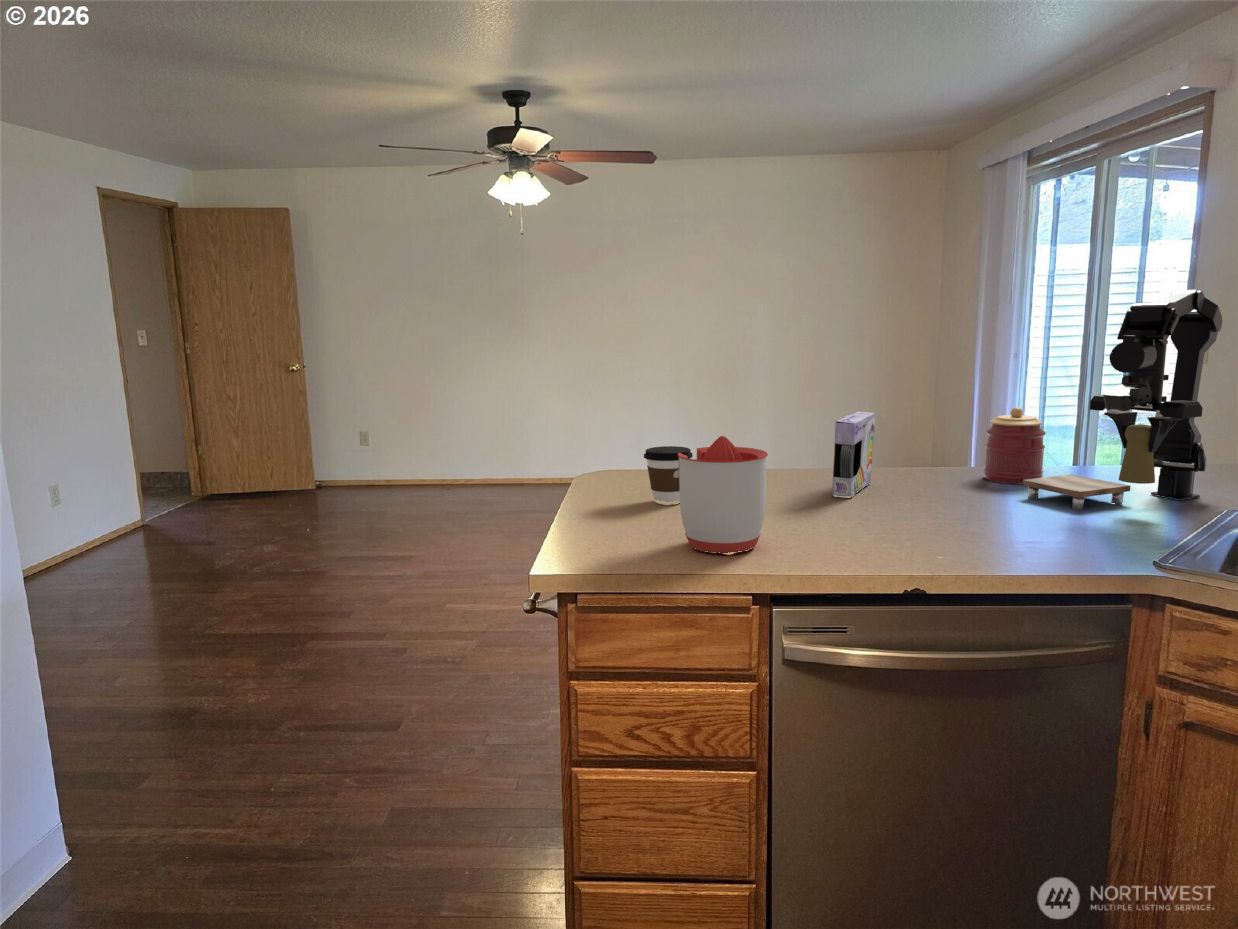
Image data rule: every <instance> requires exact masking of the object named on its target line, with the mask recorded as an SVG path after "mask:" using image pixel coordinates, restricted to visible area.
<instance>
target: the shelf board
mask: <svg viewBox="0 0 1238 929" xmlns="http://www.w3.org/2000/svg"><path fill="white" fill-rule="evenodd" d="M1022 486H1025V487H1033V488H1037V489H1039V490H1043V491H1047V492H1051V493H1055V494H1061V495H1065V496H1066V495H1067V496H1069V497H1073V496H1074V497H1078V498H1082V497H1084V498H1088V497H1096V496H1104V495H1112V494H1113V493H1121V492H1124V493H1127V492H1128V493H1129V492H1131V485H1129V484H1125V483H1119V482H1113V481H1109V480H1102V479H1098V478H1092V477H1088V476H1087V477H1086V476H1082V475H1078V474H1077V475H1076V474H1071V473H1070V474H1063V475H1054V476H1046V477H1042V478H1035V479H1027V480H1023V484H1022Z"/></svg>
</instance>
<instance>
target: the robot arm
mask: <svg viewBox="0 0 1238 929" xmlns="http://www.w3.org/2000/svg"><path fill="white" fill-rule="evenodd" d="M1222 327H1223V316H1222V313H1221V310H1220V306H1219V305H1218V304H1216V303H1215V302H1214V301H1212V300H1210V299H1208V298H1207V297H1205V295H1204V292H1203V290H1199V289H1185V290H1183V289H1182V290H1181V289H1180V290H1175V291H1172V292H1171V293H1170V294H1169V295H1166V296H1165V297H1163V298H1161V299H1158V300H1157V301H1155V302H1142V303H1141V302H1140V303H1133V304H1132V305H1130V307H1129V309H1128V310H1127V311H1126V312H1125V316H1124V319H1123V320H1122V323H1121V326H1120V329H1119V332H1118V334H1117V336H1116V338H1117V340H1122V342H1120V343H1118V344H1117V345H1115V346H1114V347H1113V349H1112V350H1111V352H1110V354H1109V356H1108V357H1109V362H1110V365H1111V367H1112V368H1113V369H1114V370H1115V371H1117V372H1118V373H1122V374H1123V373H1125V374H1124V375H1122V378H1121V382H1120V384H1119V385H1116V386H1113V387H1112V388H1110V389H1108V390H1107V391H1104V392H1103V394H1101V395H1098V394H1097V395H1093V396H1092V398H1091V399H1090V401H1089V406H1088V410H1089V411H1098V412H1099V411H1100V412H1101V411H1102V412H1103V411H1105V410H1106V412H1104V413H1103V414H1104V416H1107V417H1108V418H1110V419H1111V420H1112V421H1113V422H1114V424H1115V426H1116V427H1115V428H1116V429H1117V431H1118V435H1119V438H1120V441H1121V444H1122V447H1123V449H1125V450H1126V446H1127V442H1128V441H1127V440H1126V438H1125V430H1126V429H1127V427H1128V426H1130V425H1136V421H1137V417H1138V412H1137V411H1145V412H1154V413H1155V416H1150V417H1149V416H1148V417H1147V420H1148V423H1149V424H1150V426H1151V433H1150V443H1149V448H1150V452H1153V457H1154V468H1159V475H1158V480H1157V481H1158V483H1157V490H1156V491H1151V492H1150V495H1152V496H1156V497H1163V498H1168V499H1171V500H1178V501H1182V500H1189V499H1199V498H1200V496H1201V495H1200V494H1196V493H1193V492H1194V486H1195V485H1194V483H1195V475H1196V474H1195V473H1196V472H1197V473H1198V472H1206V467H1207V456H1206V454H1205V450H1204V446H1203V443H1202V434H1201V431H1200V430H1199V429H1198V427H1197V426H1196V424H1195V418H1201V417H1202V416H1203V406H1202V404H1201V403H1200V401H1198V398H1199V390H1200V385H1201V378H1202V373H1203V364H1204V358H1205V354H1206V353H1207V351H1208V350H1209V349H1210V348H1211V347H1212V346H1213V345H1214V344H1215V343H1216V341H1217V338H1218V333H1220V331H1221V330H1222ZM1169 337H1170V341H1171V342H1172V344H1173V345H1174V347H1175V350H1176V351H1177V354H1176V359H1175V360H1176V362H1175V366H1174V367H1175V368H1174V372H1173V373H1174V374H1173V381H1172V386H1171V387H1172V388H1171V394H1170V400H1167V396H1166V395H1165V396H1163V390H1164V381H1169V378H1170V377H1169V376H1170V375H1169V374H1165V368H1166V357H1167V346H1168V344H1169V340H1168V339H1169ZM1131 410H1132V411H1131Z"/></svg>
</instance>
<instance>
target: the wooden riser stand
mask: <svg viewBox="0 0 1238 929" xmlns="http://www.w3.org/2000/svg"><path fill="white" fill-rule="evenodd" d="M1027 487H1028V486H1027ZM1027 491H1028V492H1027V499H1028V500H1034V499H1036V500H1038V499H1039V491H1040V489H1037V488H1033V487H1028V490H1027ZM1124 493H1125V492H1121V493H1113V494H1111V502H1110V503H1115V504H1122V503H1124V502H1123V501H1124ZM1115 504H1114V505H1115ZM1122 505H1123V504H1122ZM1084 506H1085V497H1082V498H1078V497H1074V496H1072V506H1071V509H1072V510H1074V511H1084Z"/></svg>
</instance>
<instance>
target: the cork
mask: <svg viewBox="0 0 1238 929" xmlns="http://www.w3.org/2000/svg"><path fill="white" fill-rule="evenodd" d="M1150 433H1151V425H1149V424H1142V423H1141V424H1139V423H1138V424H1135V425H1130V426H1128V427H1127V429H1126V430H1125V438H1126V440H1127V441H1128V442H1127V446H1126V449H1125V450H1124V455H1123V459H1122V463H1121V467H1120V472H1119V475H1118V476H1119V477H1118V479H1117V480H1118V481H1121V482H1124V483H1130V484H1138V485H1139V484H1140V485H1141V484H1142V485H1145V484H1155V483H1156V474H1155V472H1156V471H1155V467H1154V457H1153V452H1150V448H1149V443H1150Z"/></svg>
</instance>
